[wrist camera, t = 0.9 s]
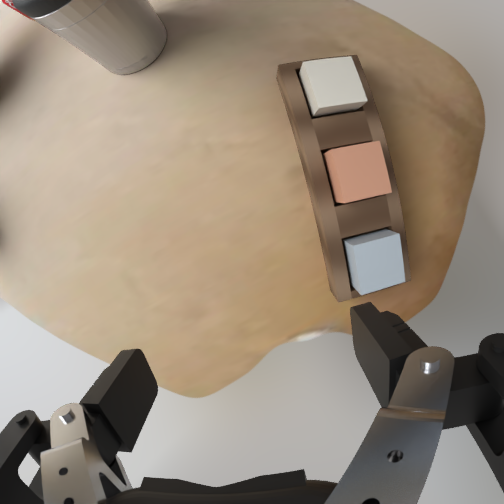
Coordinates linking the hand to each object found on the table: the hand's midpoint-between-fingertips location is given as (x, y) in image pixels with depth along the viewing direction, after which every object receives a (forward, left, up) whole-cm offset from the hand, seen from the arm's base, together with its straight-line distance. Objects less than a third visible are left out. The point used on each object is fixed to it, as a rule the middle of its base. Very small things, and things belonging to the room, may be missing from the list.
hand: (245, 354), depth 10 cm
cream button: (-14, +12, -20) cm, 27 cm away
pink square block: (-5, +12, -20) cm, 24 cm away
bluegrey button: (+4, +12, -20) cm, 24 cm away
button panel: (-5, +12, -23) cm, 26 cm away
